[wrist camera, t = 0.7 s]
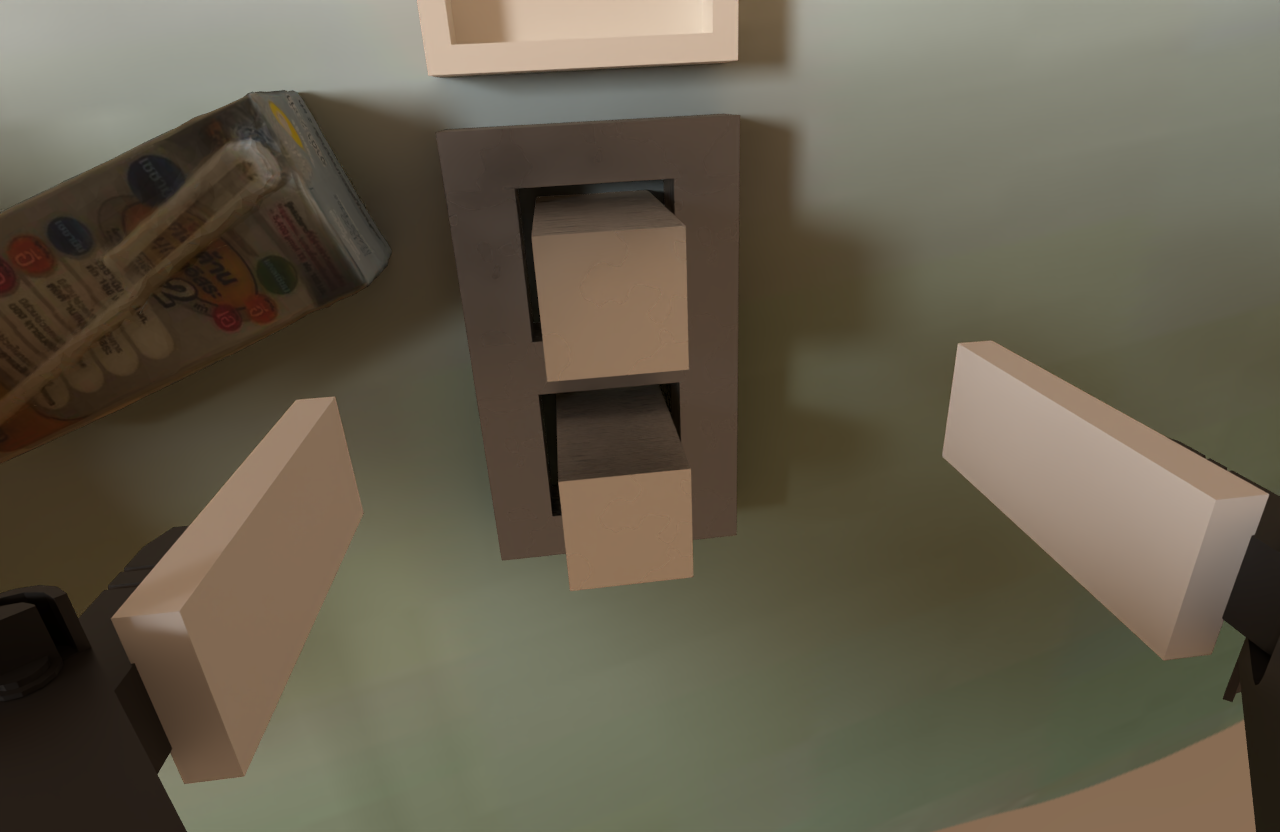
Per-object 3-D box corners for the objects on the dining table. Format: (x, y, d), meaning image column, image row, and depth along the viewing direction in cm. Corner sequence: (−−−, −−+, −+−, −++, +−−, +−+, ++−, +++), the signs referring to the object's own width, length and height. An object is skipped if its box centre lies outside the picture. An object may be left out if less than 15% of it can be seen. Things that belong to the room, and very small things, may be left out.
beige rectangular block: (564, 472, 38) (570, 590, 29) (555, 384, 36) (558, 481, 27) (658, 463, 38) (693, 576, 29) (655, 375, 36) (690, 468, 27)
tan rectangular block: (547, 306, 34) (547, 381, 25) (536, 197, 32) (531, 236, 23) (651, 297, 34) (688, 369, 25) (647, 189, 32) (685, 225, 23)
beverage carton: (405, 260, 33) (373, 297, 27) (44, 430, 34) (-63, 502, 28) (302, 83, 29) (239, 81, 23) (-93, 279, 31) (-250, 324, 25)
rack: (505, 527, 39) (501, 560, 36) (445, 129, 30) (435, 132, 28) (723, 504, 40) (736, 535, 37) (723, 113, 31) (740, 115, 29)
